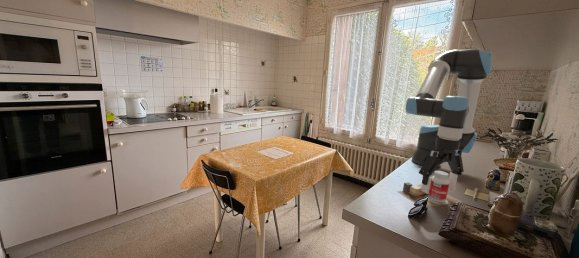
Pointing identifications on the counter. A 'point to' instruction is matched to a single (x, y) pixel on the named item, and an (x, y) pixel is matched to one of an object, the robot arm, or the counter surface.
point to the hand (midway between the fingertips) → (437, 190)
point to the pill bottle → (439, 186)
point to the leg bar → (416, 190)
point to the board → (430, 202)
